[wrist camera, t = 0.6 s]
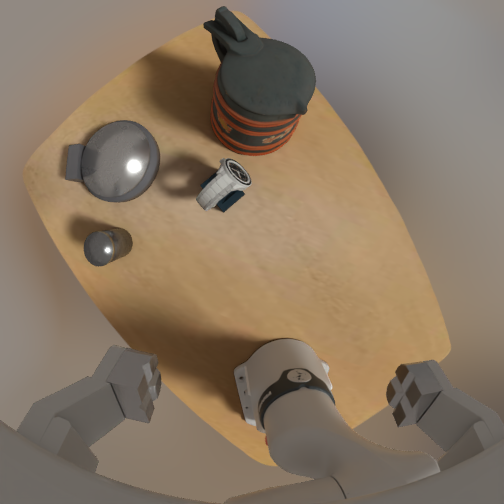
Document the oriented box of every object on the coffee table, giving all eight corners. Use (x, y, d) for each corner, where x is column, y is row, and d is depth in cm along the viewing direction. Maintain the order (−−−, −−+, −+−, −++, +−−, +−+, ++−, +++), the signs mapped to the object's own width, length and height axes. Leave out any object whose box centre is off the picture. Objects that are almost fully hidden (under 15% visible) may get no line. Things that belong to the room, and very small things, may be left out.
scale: (157, 201, 43) (149, 200, 39) (76, 203, 42) (62, 203, 37) (163, 122, 42) (156, 113, 37) (83, 131, 40) (71, 124, 35)
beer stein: (178, 97, 41) (153, 33, 21) (242, 54, 41) (252, -17, 21) (248, 173, 44) (263, 143, 24) (311, 124, 44) (360, 76, 24)
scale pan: (147, 196, 40) (146, 196, 39) (80, 198, 39) (78, 198, 38) (154, 120, 38) (153, 118, 37) (88, 127, 37) (86, 126, 36)
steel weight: (133, 257, 44) (113, 267, 35) (107, 256, 44) (84, 265, 35) (132, 228, 44) (112, 231, 35) (107, 228, 43) (83, 231, 34)
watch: (252, 187, 45) (260, 179, 34) (215, 219, 45) (211, 221, 34) (230, 162, 44) (231, 146, 33) (193, 194, 44) (183, 187, 33)
